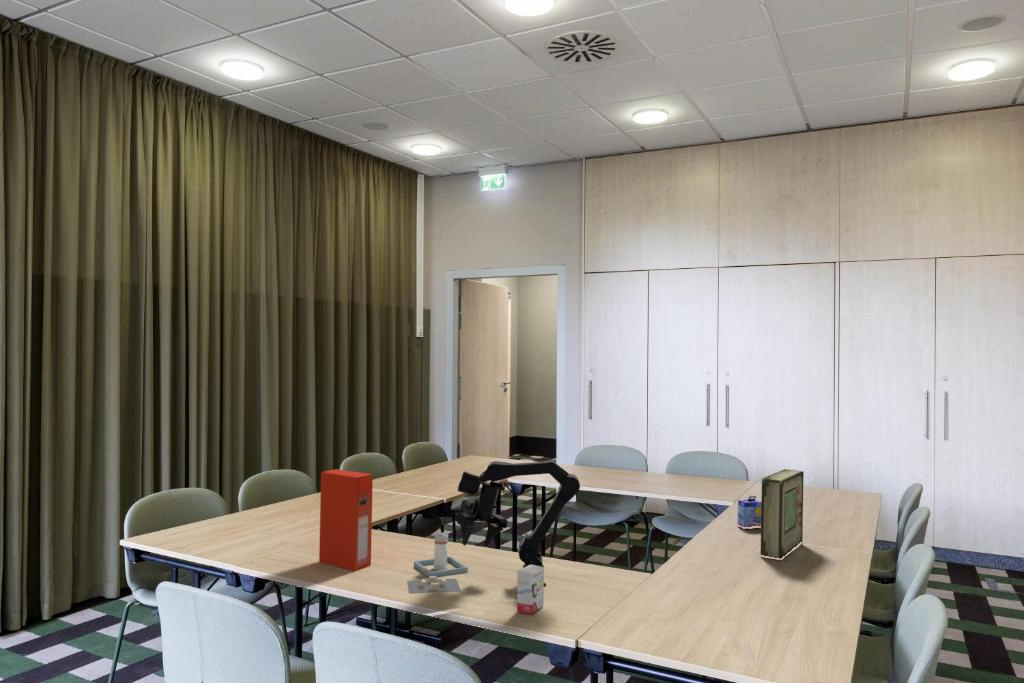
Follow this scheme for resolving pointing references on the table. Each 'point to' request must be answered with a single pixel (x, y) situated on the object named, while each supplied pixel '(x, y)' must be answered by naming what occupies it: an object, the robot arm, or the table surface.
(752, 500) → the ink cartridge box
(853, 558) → the table surface
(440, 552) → the white cylinder
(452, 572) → the tray
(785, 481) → the control panel
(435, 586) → the board
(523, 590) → the ink box
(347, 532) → the file binder
